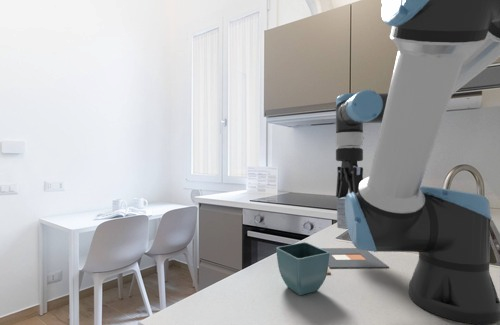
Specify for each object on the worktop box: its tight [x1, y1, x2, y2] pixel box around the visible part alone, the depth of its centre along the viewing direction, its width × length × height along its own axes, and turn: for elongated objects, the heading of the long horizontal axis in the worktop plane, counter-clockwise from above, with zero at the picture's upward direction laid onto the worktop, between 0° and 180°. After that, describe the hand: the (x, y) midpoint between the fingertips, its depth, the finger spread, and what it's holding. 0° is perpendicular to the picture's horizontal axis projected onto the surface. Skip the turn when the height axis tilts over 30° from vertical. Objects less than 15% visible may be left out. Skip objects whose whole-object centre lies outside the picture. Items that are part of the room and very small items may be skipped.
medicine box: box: [336, 197, 348, 230], centre depth 84 cm, size 8×4×9 cm, turn 143°
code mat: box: [319, 247, 390, 269], centre depth 85 cm, size 16×16×1 cm
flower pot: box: [275, 241, 330, 296], centre depth 64 cm, size 9×9×9 cm
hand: (349, 224), depth 84 cm, fingers closed on medicine box, 9 cm apart
